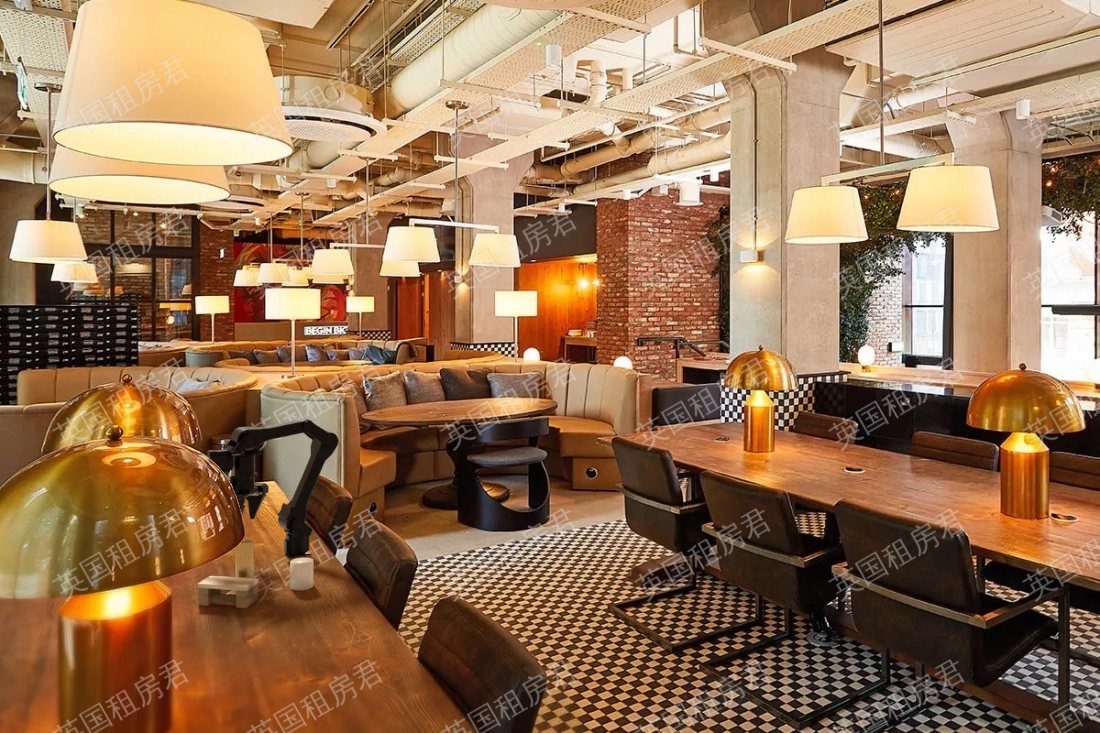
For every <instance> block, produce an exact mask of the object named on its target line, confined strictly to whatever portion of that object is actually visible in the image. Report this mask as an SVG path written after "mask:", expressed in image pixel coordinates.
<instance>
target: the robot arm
mask: <svg viewBox="0 0 1100 733" xmlns="http://www.w3.org/2000/svg"><path fill="white" fill-rule="evenodd" d="M298 434H299V435H300V434H304V436H306V437H308V438H309V439H311V443H310V457H309V459H308V461H307V464H306V466H305V468H304V471H303V474H302V475H301V478H300V479H299V482H298V484H297V487H296V489H295V491H294V494H293V496H292V498H291V500H290V501H289V502H287V503H286V502H283V503H281V508H280V510H279V512H278V513H277V516H278V517H277V523H278V524H279V526H280V527H281V528H283V530H284V532H285V533H286V534H285V538H284V540H283V553H284V552H285V553H286V554H287V555H288V556H289V557H288V556H287V555H286V554H285V553H284V554H285V555H286V556H287V557H288V558H290V557H291V558H296V557H295V556H298V557H300V556H299V555H304V554H305V553H306V552H307V551H309V552H310V537H311V535H312V532H313V528H312V527H310V526H309V524H307V523H306V519H307V515H308V514H307V510H308V509H307V508H308V504H309V500H310V498H311V496H312V493H313V491H314V489H315V486H316V484H317V482H318V479H319V476H320V474H321V472H322V470H323V467H324V465H325V463H326V461H327V460H328V459H329V458H330V457H331V456H332V455H333V454H334V453H335V450H336V449H337V447H338V446H339V443H340V441H339V437H338V436H337V434H336V433H334V432H332V431H327V430H325V429H324V428H323V427H321V426H319V425H317V424H316V423H314V422H313V421H312V420H311V419H307V418H300V419H298V420H297V419H296V420H292V421H287V422H282V423H276V424H272V425H267V426H241V427H240V426H239V427H237V428H235V429H234V430H233V432H232V433H231V436H230V437H231V438H230V439H229V441H228V442H227V443H226V445H225V446H224V447H223V449H218V450H207V455H206V456H208V457H209V458H211V459H212V460H213V461H214V462H215V463H216V464H217V465H218V466H219V467H220V468H221V470H222V471H223V472H224V473H223V474H227V473H230V472H231V471H233V474H231V475H230V477H229V479H228V480H229V481H230V483H231V484H232V486H233V489H234V491H235V493H234V494H236V496H237V499H238V502H239V505H240V509H241V512H242V515H243V514H244V510H245V506H246V504H245V502H246V501H247V504H248V514H249V519H250V520H255V518H256V516H257V513H258V511H259V510H260V507H261V506H262V504H263V502H264V499H265V498H266V497H267V493H270V492H269V489H270V488H269V485H268V484H267V483H264V482H255V480H256V478H257V477H258V474H259V473H258V472H256V471H255V470H256V461H255V460H256V459H255V458H256V457H255V456H260V455H262V454H263V452H262V451H261V450H260V449H259V448H258V446H261V445H262V444H263V443H265V442H268V441H271V440H275V439H280V438H286V437H291V436H294V435H298ZM304 556H305V555H304Z"/></svg>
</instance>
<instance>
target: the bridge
mask: <svg viewBox="0 0 1100 733" xmlns="http://www.w3.org/2000/svg"><path fill="white" fill-rule="evenodd" d="M259 579H260V578H240V577H235V576H224V575H222V576H220V575H210V576H208V577H206V578H204V579H203V580H201V581H199V582H198V583H197V588H198V606H205V607H206V606H207V607H208V606H210V605H224V606H225V605H226V606H235V607H236V609H237V608H239V609H247V608H248V607H249V606H251V605H252V604H254V603H255V602H257V601H258V598H259V597H258V587H259V586H258V585H259V584H258V583H260V581H259ZM222 590H228V591H231V590H236V595H235V594H226V593H221V592H222Z"/></svg>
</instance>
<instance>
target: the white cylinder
mask: <svg viewBox="0 0 1100 733" xmlns="http://www.w3.org/2000/svg"><path fill="white" fill-rule="evenodd" d="M289 563H290V564H289V579H290V580H289V588H290V589H291V590H293V591H305V590H310V589H312V588H313V587H314V559H313V558H312V557H311V558H310V557H297V558H296V557H295V558H294V559H291V560H290V562H289Z"/></svg>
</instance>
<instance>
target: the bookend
mask: <svg viewBox="0 0 1100 733" xmlns="http://www.w3.org/2000/svg"><path fill="white" fill-rule="evenodd" d="M241 541H242V543H241V544H240V545H239V546H238V547H237V548H235V554H234V555H235V557H234V558H235V562H234V563H235V564H234V565H235V568H234V569H235V574H234V575H235V576H234V577H240V578H254V576H255V573H254V572H255V569H254V567H255V566H254V565H255V562H254V561H255V556H254V554H255V550H254V549H255V548H254V547H255V546H254V544H255V543H254V540H251V539H250V540H249V539H248V540H247V539H245V540H241ZM225 594H235V595H236V590H228V592H226V593H225Z"/></svg>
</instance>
